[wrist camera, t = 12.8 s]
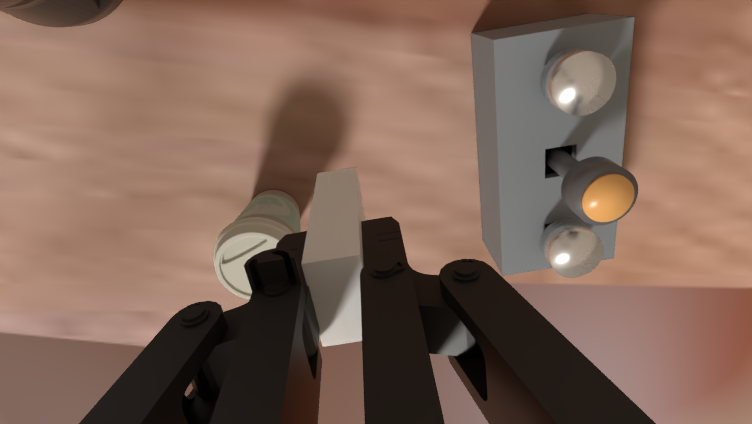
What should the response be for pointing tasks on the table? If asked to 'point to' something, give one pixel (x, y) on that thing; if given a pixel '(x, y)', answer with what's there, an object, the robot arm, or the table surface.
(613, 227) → the console
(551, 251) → the knob
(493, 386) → the robot arm
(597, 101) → the knob
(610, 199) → the pot knob
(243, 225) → the coffee cup
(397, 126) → the table surface
